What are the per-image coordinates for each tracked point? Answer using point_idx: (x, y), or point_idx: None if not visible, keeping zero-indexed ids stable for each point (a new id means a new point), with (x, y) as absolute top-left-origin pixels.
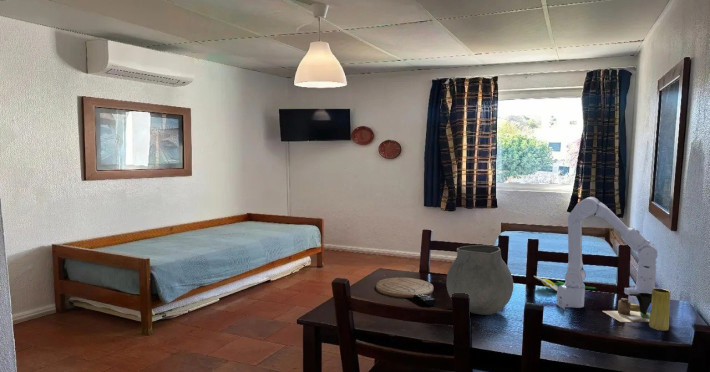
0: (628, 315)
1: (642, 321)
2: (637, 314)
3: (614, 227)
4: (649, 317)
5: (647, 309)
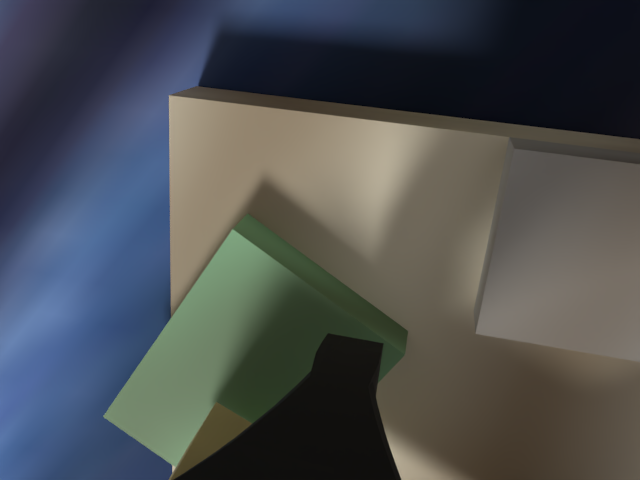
0: (572, 477)
1: (591, 148)
2: None
3: None
4: (290, 261)
5: (187, 455)
